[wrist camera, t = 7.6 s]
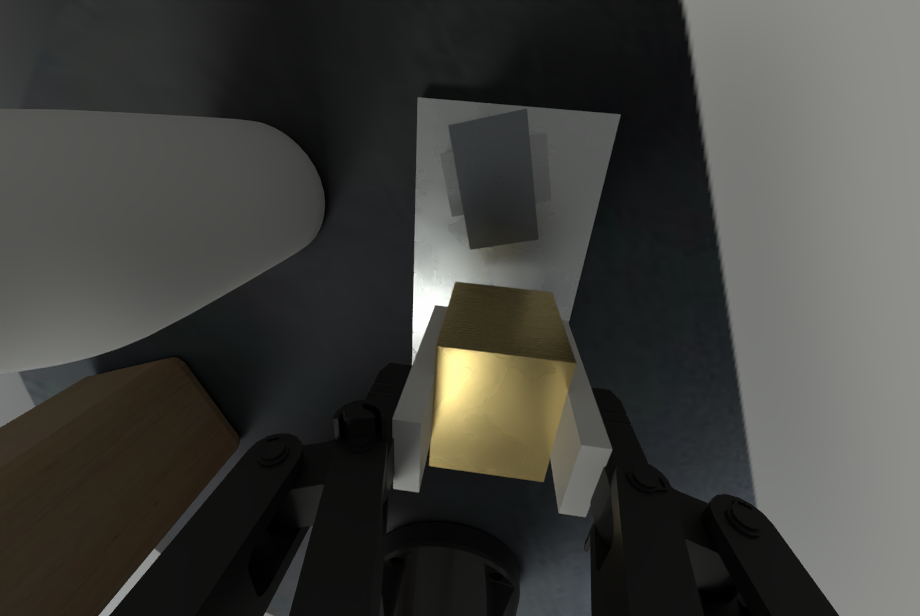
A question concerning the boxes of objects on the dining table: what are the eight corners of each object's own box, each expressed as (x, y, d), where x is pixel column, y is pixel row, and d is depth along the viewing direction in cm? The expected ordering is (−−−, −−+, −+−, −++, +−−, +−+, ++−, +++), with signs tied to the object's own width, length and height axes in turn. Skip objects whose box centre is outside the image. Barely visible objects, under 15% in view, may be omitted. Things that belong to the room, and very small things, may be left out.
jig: (545, 402, 26) (557, 470, 21) (414, 385, 27) (393, 447, 22) (614, 115, 18) (664, 107, 13) (421, 99, 18) (390, 84, 13)
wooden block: (163, 454, 34) (-214, 814, 16) (90, 371, 30) (-523, 726, 12) (249, 441, 32) (-73, 837, 14) (183, 349, 28) (-389, 740, 10)
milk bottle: (298, 104, 19) (-2468, -321, 1) (347, 240, 22) (-251, 661, 4) (181, 138, 21) (-1914, 163, 3) (243, 262, 24) (-529, 649, 6)
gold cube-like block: (531, 388, 17) (543, 482, 12) (447, 378, 17) (429, 465, 12) (552, 292, 14) (576, 363, 10) (455, 281, 15) (436, 346, 10)
